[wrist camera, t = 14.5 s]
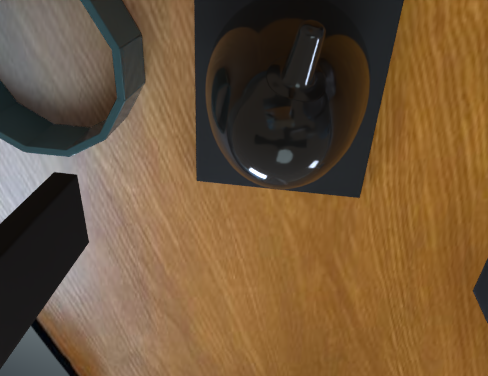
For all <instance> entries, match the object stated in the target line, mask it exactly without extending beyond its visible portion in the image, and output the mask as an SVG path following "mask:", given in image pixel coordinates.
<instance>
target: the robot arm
mask: <svg viewBox="0 0 488 376" xmlns="http://www.w3.org/2000/svg"><path fill="white" fill-rule="evenodd" d="M88 243H89V240H88V234H87V229H86V223H85V217H84V211H83V206H82V200H81V194H80V189H79V183H78V177H77V175H74V174H66V173H57V172H54V173H53V174H52V175H51V176H50V177H49V178H48V179H47V180H46V181H45V182H43V183H42V184H41V185H40V186H39V187H38V188H37V189H36V190H35V191H34V192H33V193H32V194H31V195H30V196H29V197H28V198H27V199H26V200H25V201H24V202H23V203H22V204H21V205H19V206H18V207H17V208H16V209H15V210H14V211H13V212H12V213H11V214H10V215H9V216H8V217H7V218H6V219H5V220H4V221H3V222H2V223H1V224H0V369H1V367H2V366H3V364H4V363H5V362H6V360H7V359H8V357H9V356H10V354H11V353H12V352H13V350H14V349H15V347H16V346H17V344H18V343H19V342H20V340H21V338H22V337H23V336H24V334H25V333H26V331H27V330H28V329H29V327H30V326H31V324H32V323H33V322H34V320H35V319H36V317H37V316H38V314H39V313H40V312H41V310H42V309H43V307H44V306H45V304H46V303H47V302H48V300H49V299H50V297H51V296H52V294H53V293H54V292H55V290H56V289H57V287H58V286H59V284H60V283H61V282H62V280H63V279H64V277H65V276H66V274H67V273H68V272H69V270H70V269H71V267H72V266H73V264H74V263H75V262H76V260H77V259H78V257H79V256H80V254H81V253H82V252H83V250H84V249H85V247H86V246H87V244H88ZM473 292H474V295H475V297H476V299H477V301H478V303H479V306H480V308H481V310H482V312H483V314H484V317H485V319H486V321H487V323H488V259H487V261H486V263H485V265H484V268H483V270H482V272H481V274H480V276H479V278H478V281H477V283H476V285H475V287H474V289H473Z"/></svg>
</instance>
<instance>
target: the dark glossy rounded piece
mask: <svg viewBox="0 0 488 376" xmlns="http://www.w3.org/2000/svg"><path fill="white" fill-rule="evenodd" d="M370 83H371V68H370V60H369V55H368V51H367V47H366V44H365V42H364V39H363V37H362V35H361V33H360V31H359V30H358V28H357V27H356V25H355V24H354V22H353V21H352V20H351V19H350V17H349V16H348V15H347V14H346V13H345V12H344V11H343V10H341V9H340V8H339V7H338V6H336V5H335V4H333V3H332V2H330V1H328V0H254V1H252V2H250V3H248V4H247V5H245V6H244V7H242V8H241V9H240V10H239V11H237V12H236V13H235V14H234V15H233V16H232V17H231V18H230V19H229V21H228V22H227V23H226V24H225V26H224V27H223V29H222V30H221V32H220V33H219V35H218V37H217V39H216V41H215V43H214V45H213V48H212V51H211V54H210V58H209V62H208V67H207V74H206V85H205V96H206V107H207V113H208V118H209V123H210V127H211V130H212V133H213V136H214V139H215V141H216V143H217V145H218V147H219V149H220V151H221V153H222V154H223V156H224V157H225V159H226V160H227V161H228V163H229V164H230V165H231V166H232V167H233V168H234V169H235V170H236V171H237V172H238V173H240V174H241V175H242V176H244V177H245V178H247V179H248V180H250V181H252V182H254V183H256V184H258V185H261V186H264V187H268V188H274V189H291V188H296V187H301V186H304V185H307V184H309V183H312V182H314V181H316V180H317V179H319V178H321V177H322V176H324V175H325V174H326V173H328V172H329V171H330V170H331V169H332V168H333V167H334V166H335V165H336V164H337V163H338V162H339V161H340V160H341V159H342V158H343V156H344V155H345V154H346V152H347V151H348V149H349V148H350V146H351V144H352V143H353V141H354V139H355V137H356V135H357V133H358V131H359V128H360V126H361V124H362V121H363V118H364V115H365V112H366V109H367V105H368V100H369V93H370Z"/></svg>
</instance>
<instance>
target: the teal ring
mask: <svg viewBox="0 0 488 376" xmlns="http://www.w3.org/2000/svg"><path fill="white" fill-rule="evenodd" d="M80 1H81V2H82V3H83V5H84V7H85V8H86V10H87V11H88V13H89V15H90V16H91V18H92V19H93V21H94V22H95V24H96V26H97V27H98V29H99V30H100V32H101V34H102V35H103V37H104V38H105V40H106V42H107V43H108V45H109V46H110V48H111V49H112V56H113V65H114V74H115V83H116V92H117V99H116V101H115V103H114V105H113V107H112V109H111V111H110V113H109V115H108V117H107V119H106V120H104V121H102V122H100V123H98V124H96V125H94V126H92V127H82V126H71V125H61V124H53V123H52V122H50V121H48V120H47V119H45V118H43V117H41V116H40V115H38V114H36V113H35V112H33V111H31V110H30V109H28V108H26V107H25V106H23V105H21V104H20V103H18V102H17V101H16V100H15V98H14V97H13V96H12V95H11V93H10V92H9V91H8V89H7V88H6V87H5V86H4V84H3V83H2V82H1V80H0V139H2V140H4V141H6V142H7V143H9V144H11V145H13V146H14V147H16V148H18V149H20V150H21V151H23V152H27V153H37V154H47V155H56V156H66V157H70V156H72V155H75V154H77V153H79V152H81V151H83V150H85V149H87V148H89V147H91V146H93V145H95V144H97V143H99V142H102V141H104V140H105V139H107V137H108V136H109V135H110V134H111V133H112V132H113V131H114V130H115V129H116V128H117V127H118V126H119V125H120V124H121V123H122V122H123V121H124V120H125V119H126V118H127V116H128V114H129V112H130V111H131V109H132V107H133V105H134V103H135V101H136V99H137V97H138V95H139V93H140V91H141V90H142V88H143V86H144V84H145V71H144V58H143V44H142V35H141V32H140V31H139V29H138V27H137V26H136V24H135V22H134V20H133V19H132V17H131V15H130V14H129V12H128V10H127V9H126V7H125V5H124V3H123V2H122V0H80Z"/></svg>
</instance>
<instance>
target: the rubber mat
mask: <svg viewBox="0 0 488 376" xmlns="http://www.w3.org/2000/svg"><path fill="white" fill-rule="evenodd" d="M252 1H254V0H194V5H195V86H196V168H197V181H203V182H213V183H222V184H232V185H241V186H251V187H261V188H268V187H264V186H261V185H258V184H256V183H254V182H252V181H250V180H248V179H247V178H245V177H244V176H242V175H241V174H240V173H238V172H237V171H236V170H235V169H234V168H233V167H232V166H231V165H230V164H229V163H228V161H227V160H226V159H225V157H224V156H223V154H222V153H221V151H220V149H219V147H218V145H217V143H216V141H215V139H214V136H213V133H212V130H211V127H210V123H209V118H208V113H207V107H206V96H205V85H206V74H207V67H208V62H209V58H210V54H211V51H212V48H213V45H214V43H215V41H216V39H217V37H218V35H219V33H220V32H221V30H222V29H223V27H224V26H225V24H226V23H227V22H228V21H229V19H230V18H231V17H232V16H233V15H234V14H235V13H236V12H237V11H239V10H240V9H241V8H242V7H244V6H245V5H247V4H248V3H250V2H252ZM328 1H330V2H332V3H333V4H335V5H336V6H338V7H339V8H340V9H341V10H343V11H344V12H345V13H346V14H347V15H348V16H349V17H350V19H351V20H352V21H353V22H354V24H355V25H356V27H357V28H358V30H359V31H360V33H361V35H362V37H363V39H364V42H365V44H366V47H367V51H368V55H369V60H370V68H371V83H370V93H369V100H368V105H367V109H366V112H365V115H364V118H363V121H362V124H361V126H360V128H359V131H358V133H357V135H356V137H355V139H354V141H353V143H352V144H351V146H350V148H349V149H348V151H347V152H346V154H345V155H344V156H343V158H342V159H341V160H340V161H339V162H338V163H337V164H336V165H335V166H334V167H333V168H332V169H331V170H330V171H329V172H328V173H326V174H325V175H324V176H322V177H321V178H319V179H317V180H316V181H314V182H312V183H309V184H307V185H304V186H301V187H296V188H291V189H280V190H289V191H299V192H309V193H318V194H328V195H337V196H347V197H357V198H360V194H361V189H362V185H363V180H364V176H365V171H366V167H367V162H368V158H369V153H370V149H371V144H372V140H373V135H374V131H375V127H376V122H377V118H378V113H379V109H380V104H381V100H382V95H383V91H384V86H385V82H386V77H387V73H388V68H389V64H390V59H391V55H392V51H393V46H394V42H395V37H396V33H397V28H398V24H399V19H400V15H401V10H402V6H403V1H404V0H328ZM270 189H274V188H270Z"/></svg>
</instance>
